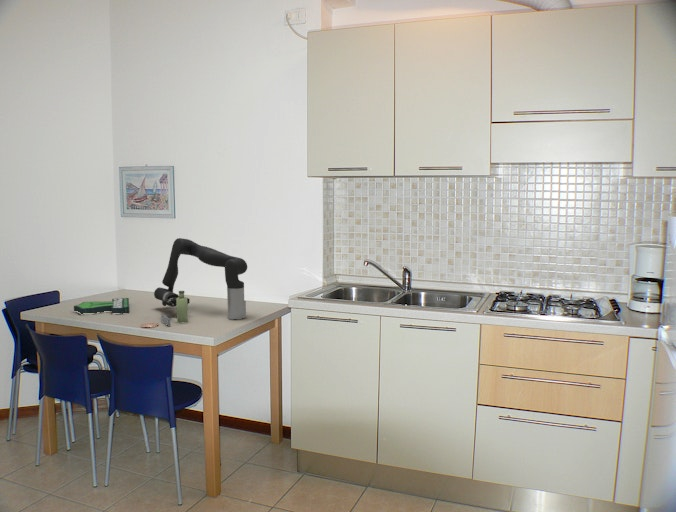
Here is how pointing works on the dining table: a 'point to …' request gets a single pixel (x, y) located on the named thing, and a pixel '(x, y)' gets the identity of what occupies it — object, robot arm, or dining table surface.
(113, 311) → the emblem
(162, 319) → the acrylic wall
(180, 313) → the bottle
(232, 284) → the robot arm
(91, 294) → the dining table surface
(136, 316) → the dining table surface
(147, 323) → the coaster
